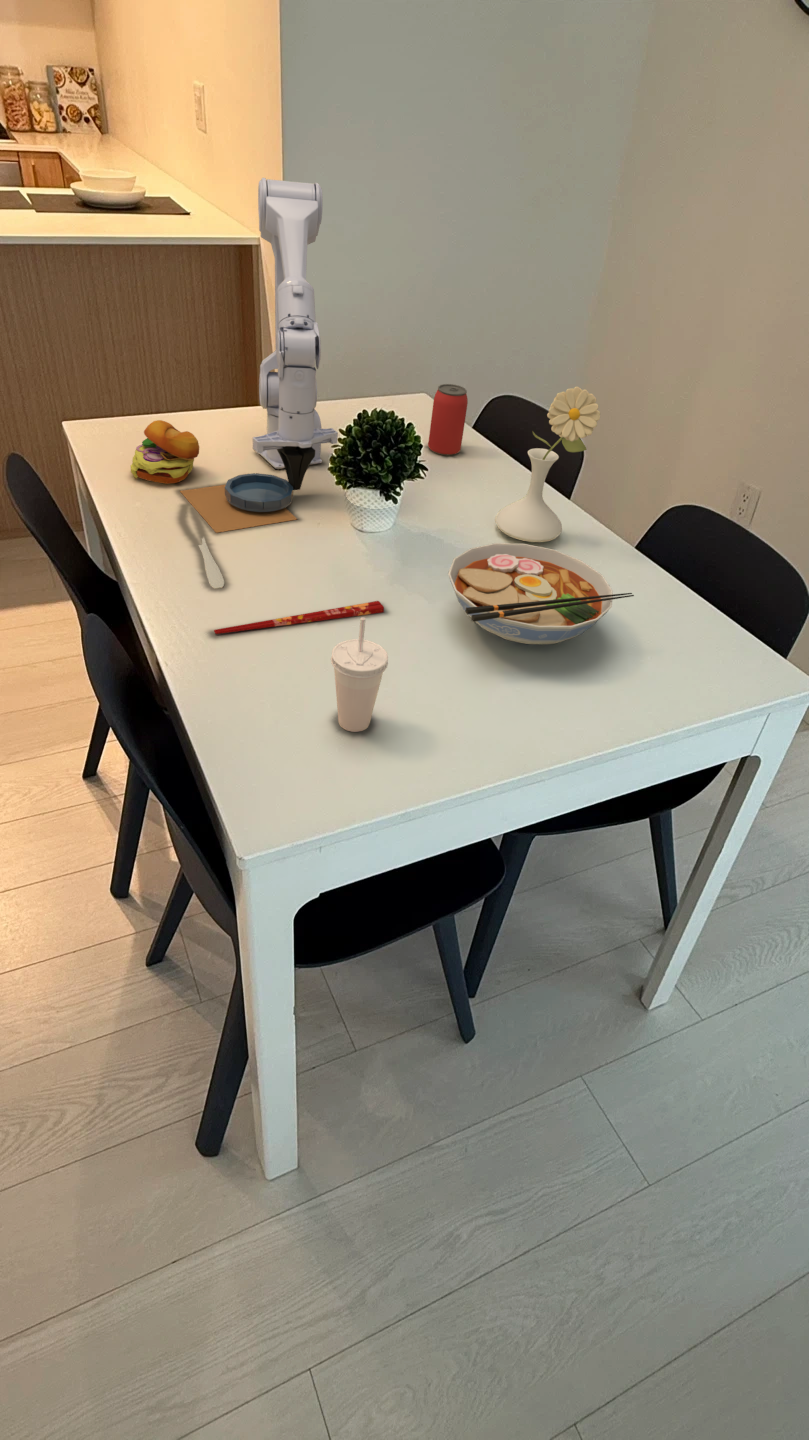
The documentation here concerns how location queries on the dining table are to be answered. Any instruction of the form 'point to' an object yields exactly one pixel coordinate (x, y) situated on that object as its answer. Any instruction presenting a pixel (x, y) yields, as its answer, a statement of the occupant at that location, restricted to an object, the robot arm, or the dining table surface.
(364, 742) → the dining table surface
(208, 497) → the placemat
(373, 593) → the dining table surface
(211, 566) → the butter knife
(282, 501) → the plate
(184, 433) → the cheeseburger
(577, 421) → the flower in vase
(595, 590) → the ramen bowl
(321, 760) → the dining table surface
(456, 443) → the beer can
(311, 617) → the chopstick
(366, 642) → the smoothie
